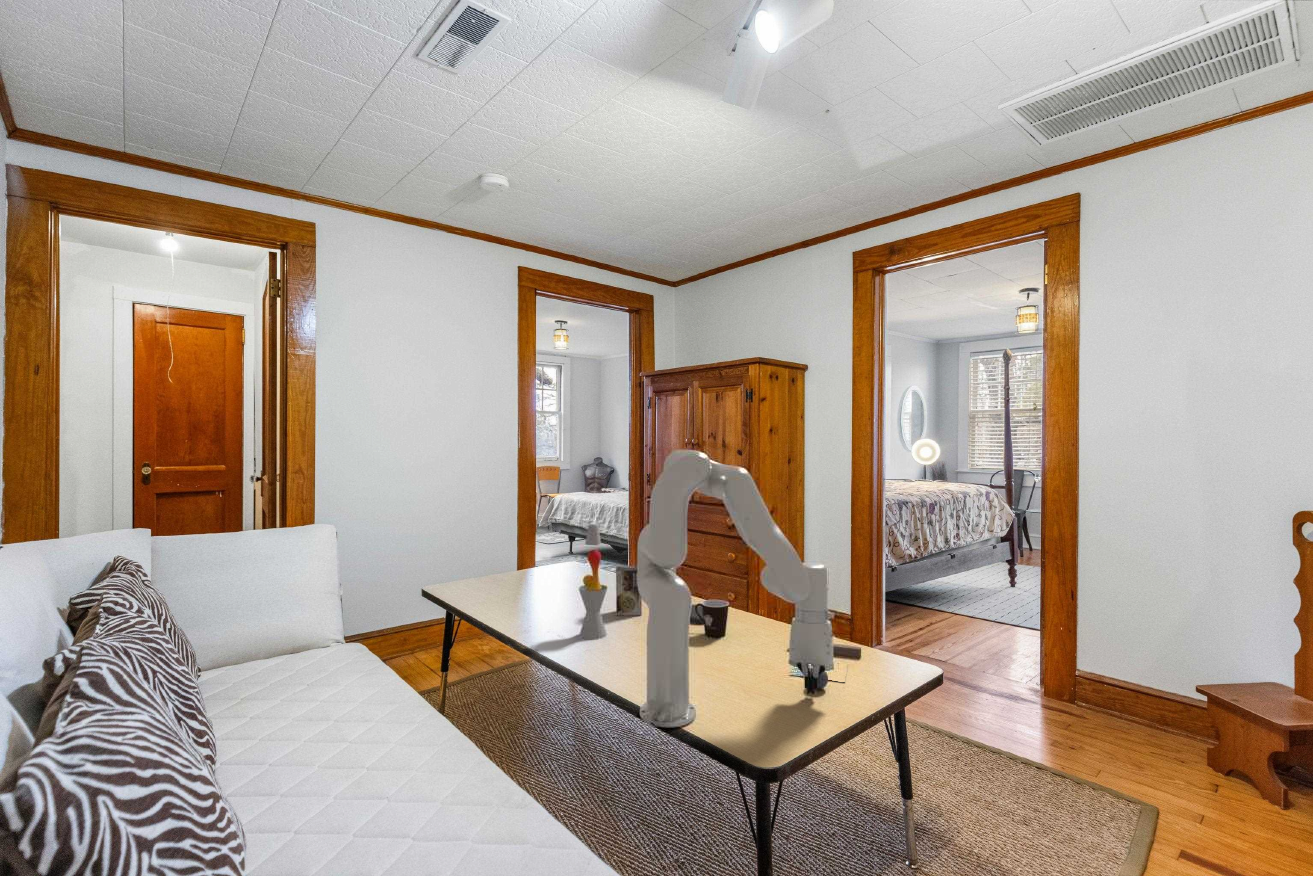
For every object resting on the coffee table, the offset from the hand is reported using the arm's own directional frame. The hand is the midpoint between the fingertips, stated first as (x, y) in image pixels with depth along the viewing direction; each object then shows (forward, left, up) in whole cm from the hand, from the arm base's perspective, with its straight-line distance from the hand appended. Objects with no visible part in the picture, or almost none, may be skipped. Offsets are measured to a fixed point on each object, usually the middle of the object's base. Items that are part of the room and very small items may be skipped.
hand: (811, 691), depth 147 cm
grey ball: (+6, -1, +1) cm, 6 cm away
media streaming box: (+54, +44, -2) cm, 70 cm away
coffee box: (+49, +69, -2) cm, 85 cm away
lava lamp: (+23, +70, -2) cm, 74 cm away
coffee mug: (+38, +35, -2) cm, 52 cm away
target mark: (+19, 0, -2) cm, 19 cm away
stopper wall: (+33, 0, -2) cm, 33 cm away
